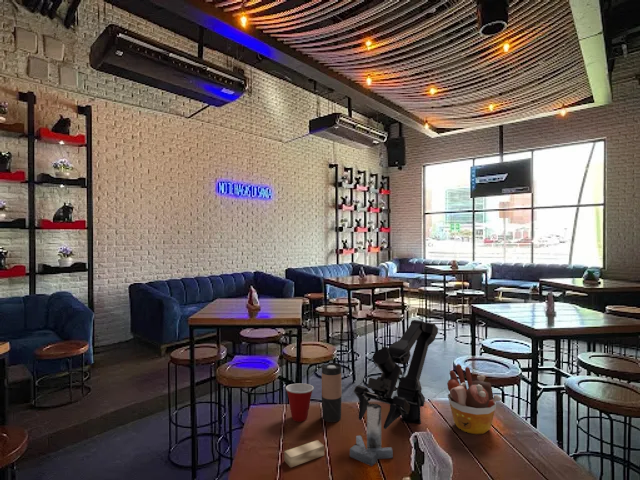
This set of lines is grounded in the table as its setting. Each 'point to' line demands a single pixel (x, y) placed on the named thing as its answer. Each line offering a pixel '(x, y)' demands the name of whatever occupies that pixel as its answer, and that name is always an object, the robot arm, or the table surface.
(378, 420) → the grey metallic cylinder
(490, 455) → the table surface
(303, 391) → the plastic cup
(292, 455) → the beam
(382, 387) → the robot arm
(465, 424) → the bucket of meat
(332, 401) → the travel mug
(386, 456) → the grey flat branched piece
